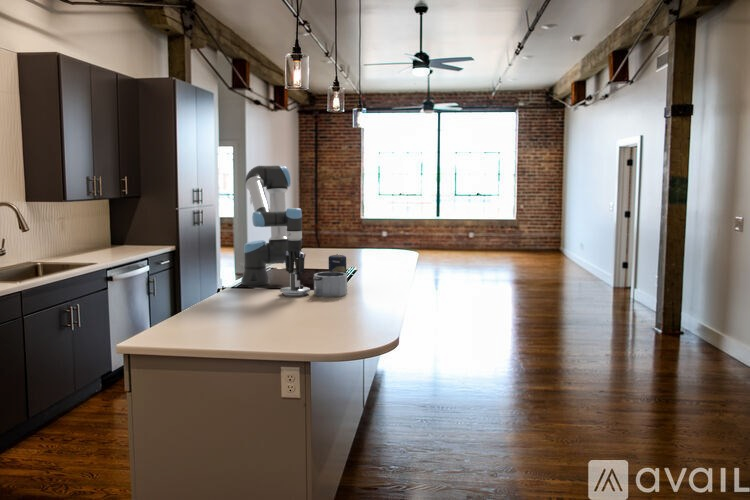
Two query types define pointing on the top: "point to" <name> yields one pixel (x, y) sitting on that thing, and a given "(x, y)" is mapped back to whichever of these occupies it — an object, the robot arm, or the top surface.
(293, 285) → the lid
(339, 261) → the canister
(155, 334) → the top surface
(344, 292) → the cooker pot
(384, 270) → the top surface
